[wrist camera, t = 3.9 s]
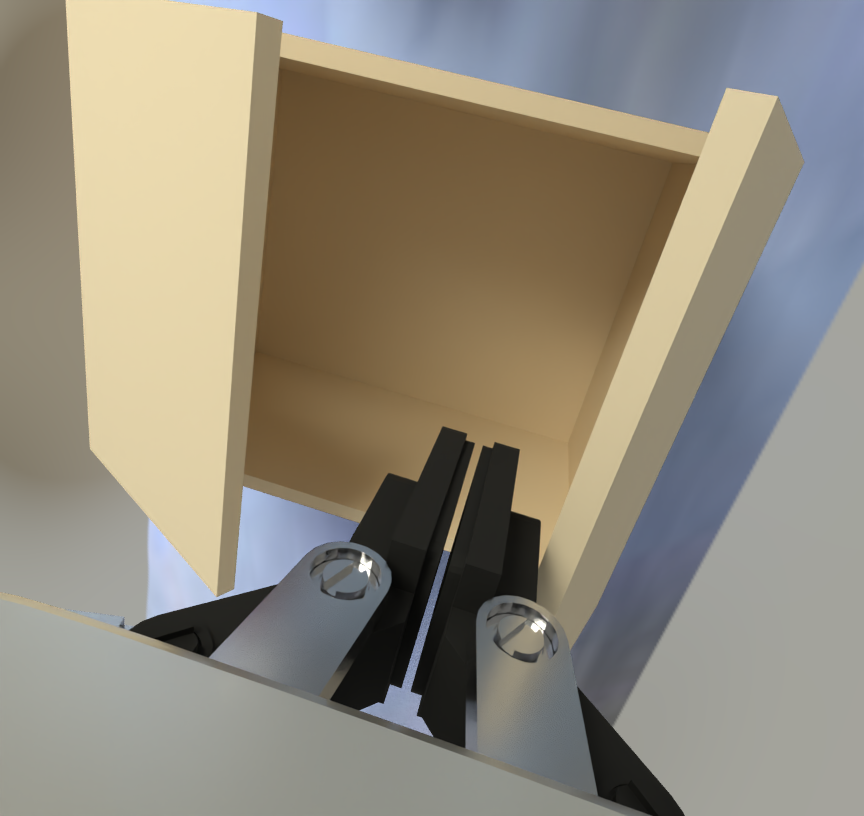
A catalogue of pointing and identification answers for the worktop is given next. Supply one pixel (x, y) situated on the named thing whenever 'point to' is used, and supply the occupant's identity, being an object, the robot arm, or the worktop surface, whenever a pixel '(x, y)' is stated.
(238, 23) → the low flap
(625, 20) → the worktop surface
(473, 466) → the carton
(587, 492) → the raised flap
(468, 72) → the worktop surface
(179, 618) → the robot arm
